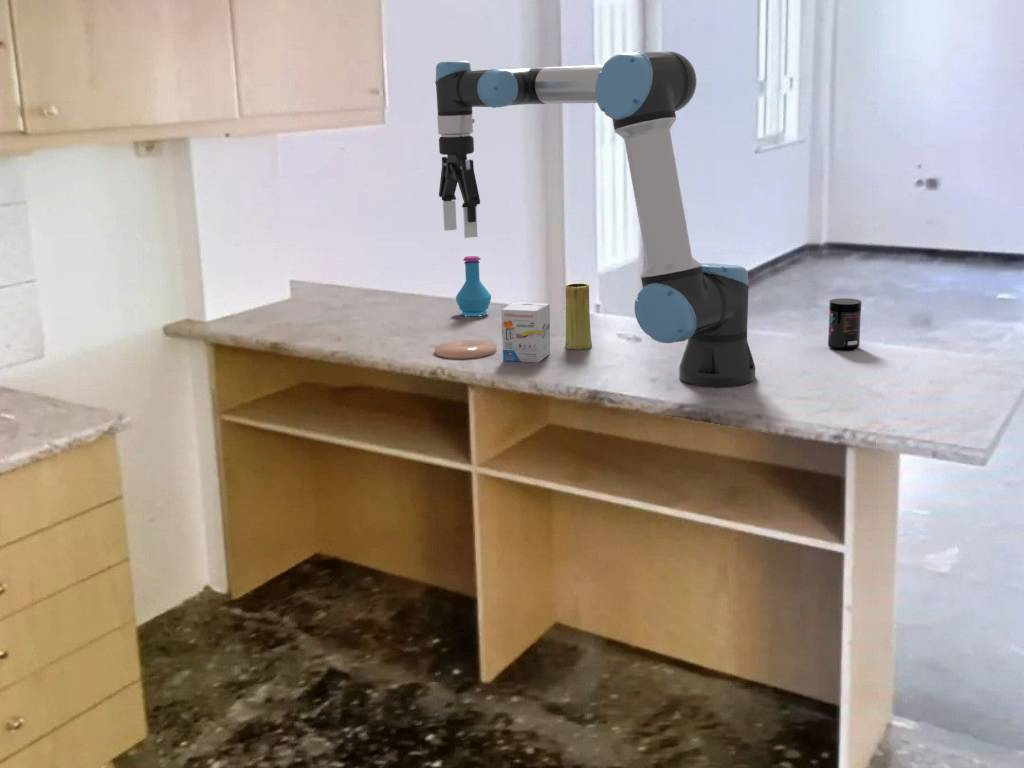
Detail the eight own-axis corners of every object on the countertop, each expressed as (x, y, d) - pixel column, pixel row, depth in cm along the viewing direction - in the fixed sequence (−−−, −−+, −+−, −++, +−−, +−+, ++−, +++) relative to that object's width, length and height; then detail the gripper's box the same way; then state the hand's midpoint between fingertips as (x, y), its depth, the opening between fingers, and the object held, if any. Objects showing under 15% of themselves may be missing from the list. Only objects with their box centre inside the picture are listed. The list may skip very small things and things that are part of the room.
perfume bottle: (491, 317, 298) (488, 259, 294) (455, 318, 298) (452, 260, 295) (492, 309, 307) (490, 253, 303) (457, 311, 307) (454, 254, 303)
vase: (590, 350, 260) (589, 287, 256) (563, 350, 261) (561, 287, 257) (593, 344, 266) (592, 282, 262) (567, 343, 267) (565, 282, 263)
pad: (505, 354, 259) (505, 349, 259) (446, 361, 254) (446, 357, 254) (483, 341, 272) (483, 337, 272) (426, 348, 267) (426, 344, 267)
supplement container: (844, 343, 259) (846, 297, 256) (866, 348, 253) (868, 301, 250) (821, 347, 256) (822, 300, 253) (842, 353, 250) (844, 305, 247)
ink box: (501, 361, 253) (499, 308, 250) (514, 352, 261) (513, 300, 258) (539, 363, 251) (537, 310, 247) (551, 354, 258) (549, 302, 255)
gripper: (492, 136, 241) (496, 238, 246) (453, 132, 263) (457, 225, 269) (458, 138, 238) (463, 241, 244) (421, 134, 260) (426, 228, 266)
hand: (460, 233), depth 256 cm, fingers open, 13 cm apart
